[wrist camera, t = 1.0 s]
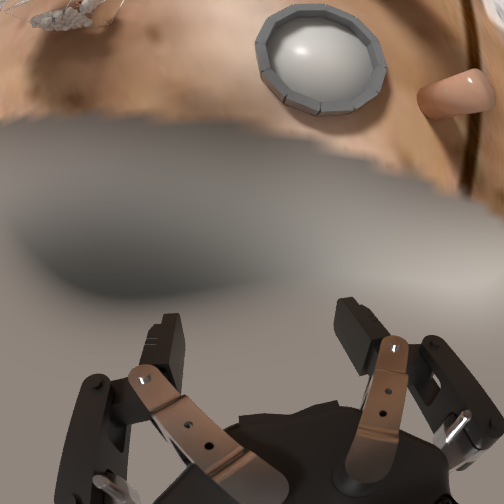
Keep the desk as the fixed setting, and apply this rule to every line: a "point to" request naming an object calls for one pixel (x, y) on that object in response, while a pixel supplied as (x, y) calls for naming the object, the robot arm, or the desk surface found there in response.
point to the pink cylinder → (457, 95)
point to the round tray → (320, 59)
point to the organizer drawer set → (63, 16)
